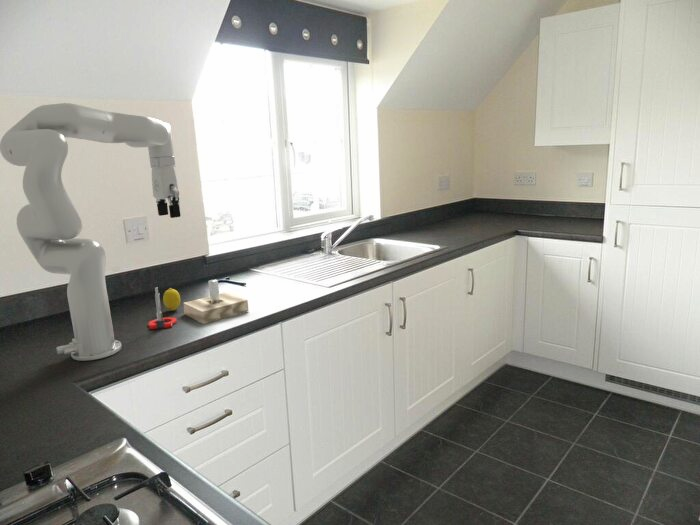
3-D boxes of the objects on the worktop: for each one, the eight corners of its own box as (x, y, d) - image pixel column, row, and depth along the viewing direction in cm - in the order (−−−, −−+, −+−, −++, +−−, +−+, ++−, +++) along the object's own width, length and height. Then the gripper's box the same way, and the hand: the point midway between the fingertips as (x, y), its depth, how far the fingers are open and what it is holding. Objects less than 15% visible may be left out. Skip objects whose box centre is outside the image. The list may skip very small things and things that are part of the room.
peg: (214, 314, 170) (210, 282, 168) (210, 313, 172) (206, 281, 170) (222, 312, 172) (219, 280, 170) (218, 310, 174) (215, 279, 172)
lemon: (175, 307, 181) (173, 285, 179) (185, 309, 177) (182, 287, 175) (161, 311, 177) (158, 288, 175) (170, 314, 173) (167, 291, 171)
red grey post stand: (151, 322, 167) (146, 330, 159) (146, 283, 165) (141, 289, 156) (178, 319, 169) (175, 327, 160) (173, 280, 167) (170, 286, 158)
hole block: (203, 323, 162) (202, 311, 161) (184, 314, 172) (183, 302, 171) (248, 311, 172) (247, 299, 171) (228, 303, 182) (227, 292, 182)
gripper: (141, 163, 170) (148, 215, 173) (161, 163, 157) (168, 219, 161) (163, 162, 174) (169, 213, 178) (185, 162, 162) (191, 216, 165)
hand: (169, 216), depth 169 cm, fingers open, 9 cm apart
